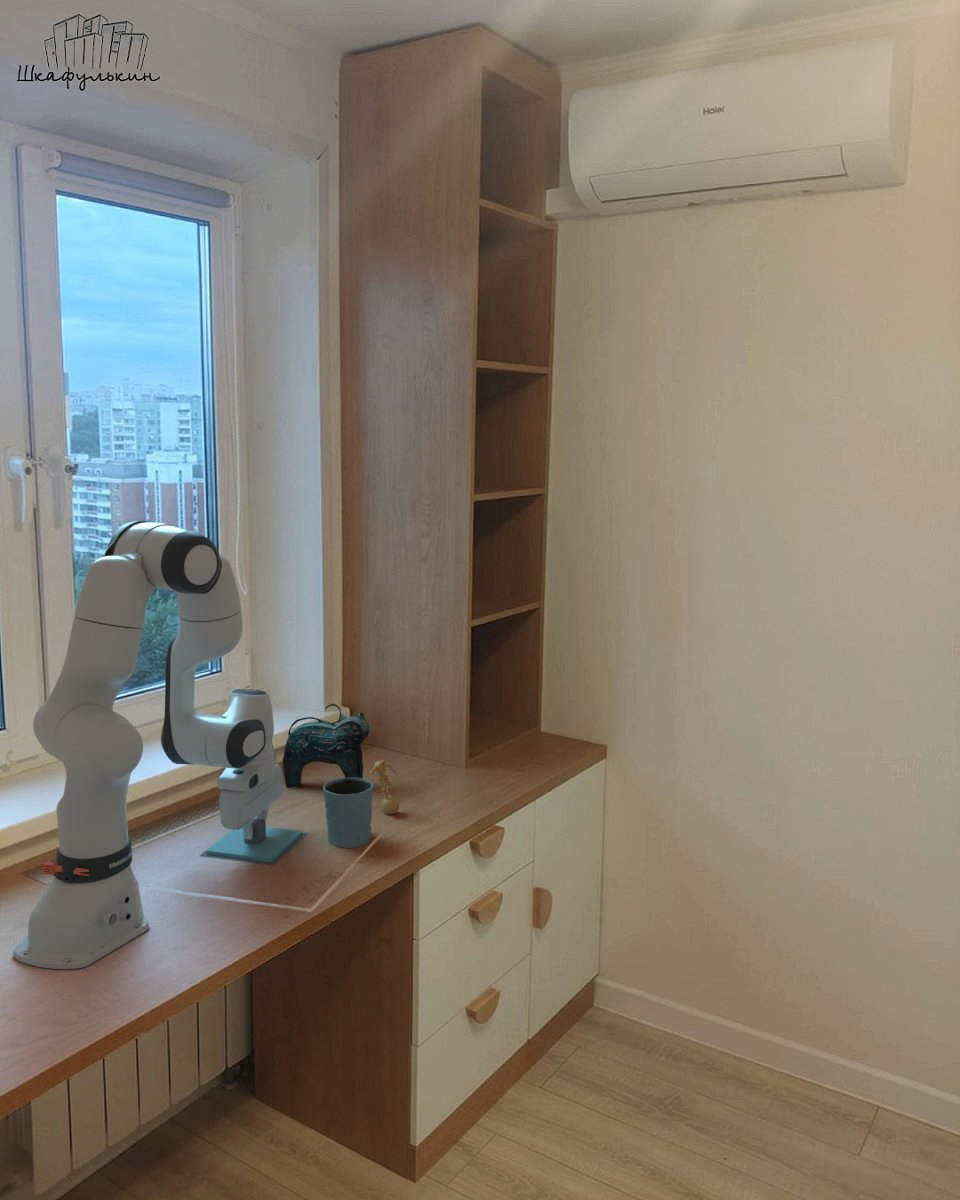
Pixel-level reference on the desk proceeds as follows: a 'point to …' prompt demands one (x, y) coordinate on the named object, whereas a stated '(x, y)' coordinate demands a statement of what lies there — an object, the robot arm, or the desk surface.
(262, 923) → the desk surface
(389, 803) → the figurine
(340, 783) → the blue grey bin
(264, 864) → the mat
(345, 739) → the ceramic cat
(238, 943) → the desk surface
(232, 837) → the lid
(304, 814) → the desk surface
